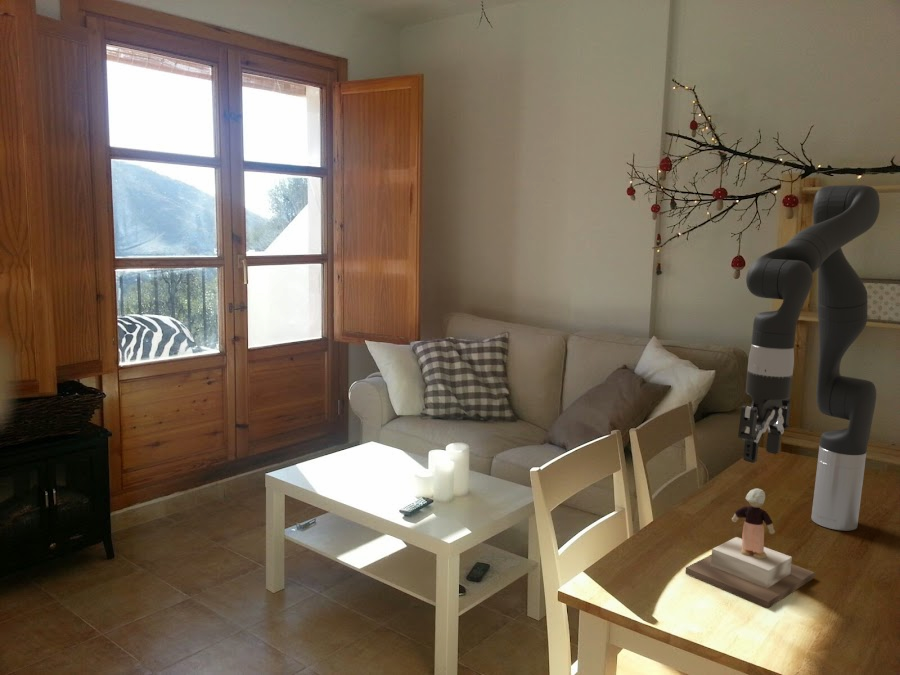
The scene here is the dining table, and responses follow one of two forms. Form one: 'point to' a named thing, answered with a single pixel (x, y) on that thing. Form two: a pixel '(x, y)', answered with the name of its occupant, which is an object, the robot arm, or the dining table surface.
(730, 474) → the dining table surface
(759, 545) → the grandmother figurine
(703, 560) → the plinth
